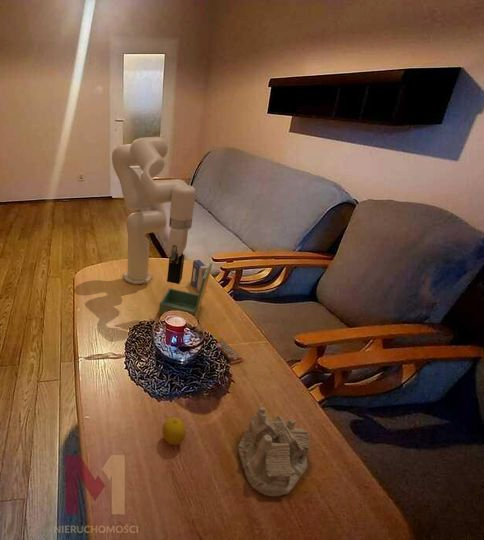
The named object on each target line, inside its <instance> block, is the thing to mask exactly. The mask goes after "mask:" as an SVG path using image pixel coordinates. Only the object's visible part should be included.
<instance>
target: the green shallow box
mask: <svg viewBox="0 0 484 540" xmlns="http://www.w3.org/2000/svg"><path fill="white" fill-rule="evenodd" d="M198 295H199V293H198V294H197V293H193V292H188V291H184V290H179V289H175V288H171V287H170V288H168V289H167V290H166V293H165V294H164V296H163V297H162V299H161V301H160V302H159V307H158V308H159V309H158V315H160V316H162V315H161V314H162V313H163V312H165V311H168V310H180V311H185V312H188V313H191V314H192V315H194V316H195V317H196V319H197V317H198V316H199V313H200V310H201V308H202V305H203V300H202V301H201V303H200V306H199V308H198V310H197V311H195V307H196V303H197V299H198Z"/></svg>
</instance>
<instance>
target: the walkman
mask: <svg viewBox="0 0 484 540" xmlns="http://www.w3.org/2000/svg"><path fill="white" fill-rule="evenodd" d="M207 268H208V266H207V265H206V264H205V263H203V261H201V260H200V259H195V260H194V259H193V263H192V271H191V279H190V285H192V287H194V288H196V289H197V291H198V292H200V288H201V284H202V280H203V277H204V275H205V272H206V270H207Z"/></svg>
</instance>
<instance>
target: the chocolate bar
mask: <svg viewBox="0 0 484 540" xmlns="http://www.w3.org/2000/svg"><path fill="white" fill-rule="evenodd" d="M216 344H217V345H216V346H215V347H216V348H217V349H218V350H219V351H220V352H221V353H222V354H223V357H224V358H225V359H226V360H227V361H228V362H229V364H231V365H232V364H236V363H239V362H242V361H243V362H244V359H243V358H242V357H241V356H240V355H238V353H237V352H236V351H234V349H232V348H231V347H230V346H229V345H228V344H227V343H226V342H225V341H221V342H218V343H216Z"/></svg>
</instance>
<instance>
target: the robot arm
mask: <svg viewBox="0 0 484 540" xmlns="http://www.w3.org/2000/svg"><path fill="white" fill-rule="evenodd" d="M168 148H169V147H168V143H167V141H166V140H165V139H164V137H161V136H149V137H139V138H136V139H135V140H133V141H132V143H128V144H121V145H118V146H117V147H115V148H114V149H113V150H112V154H111V163H112V167H113V170H114V172H115V174H116V176H117V178H118V180H119V184H120V187H121V188H120V189H121V192H122V197H123V201H124V205H125V207H126V209H128V210H129V211H137V212H132V213H131V214H129V215H128V216H127V217H126V220H125V225H126V231H127V268H126V269H127V271H126V272H125V273H124V274H123V279H124V281H126V282H127V283H130V284H133V285H143V284H145V283H148V282H150V280H151V279H152V274H151V273H150V272H149V266H150V264H149V261H150V248H151V247H150V245H151V244H150V241H149V239H148V237H146V235H147V234H152V233H158V232H161V231H164V230H165V229H166V227H167V224H168V227H169V228H170V230H169V235H168V241H167V248H166V255H167V256H169V255H170V256H171V260H170V268H169V271H170V272H173V273H178V271H179V263H178V262H179V256H181V254H182V255H184V251H185V249H186V247H187V243H188V234H189V230H191V229H192V225H193V216H194V208H195V201H196V193H197V192H196V188H195V187H194V186H192V185H189V184H188V183H186V181H184V180H183V179H180V178H178V179H177V178H176V179H167V180H158V181H155V180H154V179H155V177H157V176H159V175H160V174H161V172H162V171H163V170H164V168H165V159H164V158H165V157H166V156H167V154H168ZM136 165H137V166H139V168H140V170H141V172H140V173H141V174H140V176H139V174H138V173H137V171H136V170H134V169H133V168H132V166H136ZM166 203H170V211H169V221H168V223H167V215H166V210H165V206H164V204H166ZM145 209H148V210H145ZM139 210H144V211H139ZM176 253H177V254H178V255H177V254H176ZM175 257H177V259H176V258H175Z"/></svg>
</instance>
